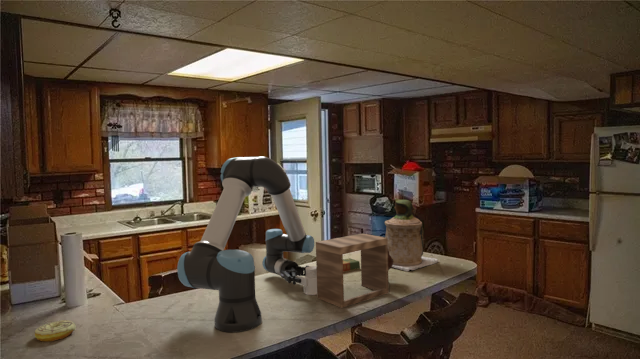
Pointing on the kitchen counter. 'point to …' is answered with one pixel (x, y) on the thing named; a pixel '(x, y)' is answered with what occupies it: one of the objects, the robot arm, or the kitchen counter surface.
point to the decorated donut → (54, 330)
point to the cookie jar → (406, 238)
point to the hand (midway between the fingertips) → (318, 279)
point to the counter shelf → (332, 267)
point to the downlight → (311, 280)
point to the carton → (350, 264)
